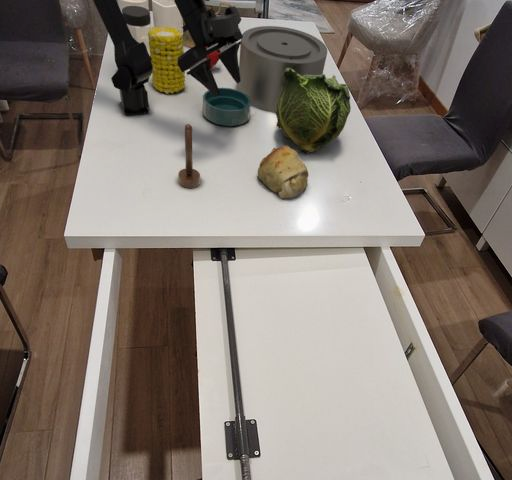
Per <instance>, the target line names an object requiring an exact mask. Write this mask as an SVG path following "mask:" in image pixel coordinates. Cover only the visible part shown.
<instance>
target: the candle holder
mask: <svg viewBox="0 0 512 480" xmlns="http://www.w3.org/2000/svg"><path fill="white" fill-rule="evenodd" d="M116 1H117V3H118V6H119V8H120V10H121V12H122V9H123V8H124V7H127V6H140V7H143V8H146V9H148V10H149V9H150V7H149V6H150V5H149V3H150V2H149V0H116ZM149 11H150V10H149Z"/></svg>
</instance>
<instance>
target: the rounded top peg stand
mask: <svg viewBox="0 0 512 480" xmlns="http://www.w3.org/2000/svg"><path fill="white" fill-rule="evenodd" d="M184 156H185V158H184V159H185V160H184V161H185V168H183V169H181V170H179V171H178V184H179V185H180V186H181V187H183V188H185V189H195V188H197V187H198V186H200V184H201V173H200V172H199V171H198V170H197V169H195V168H194V166H193V165H194V164H193V162H194V161H193V126H192V125H191V124H190V123H187V124H185V125H184Z"/></svg>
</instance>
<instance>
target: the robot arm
mask: <svg viewBox="0 0 512 480" xmlns="http://www.w3.org/2000/svg"><path fill="white" fill-rule="evenodd" d="M92 1H93V3H94V6H95V7H96V10H97V12H98V15H99V16H100V18H101V20H102V23H103V24H104V27H105V29H106V31H107V33H108V36H109V37H110V40H111V42H112V44H113V50H114V51H113V53H114V63H115V65H116V68H117V71H116V72H115V73H114V74H113V75H112V76H111V77H110V79H111V82H112V85H113V88H115V89H117V90H118V91H119V97H120V101H119V106H120V107H121V110H122V111H123V113H124V115H125V116H133V115H143V114H145V115H146V114H149V113H150V110H149V109H148V108H149V107H150V103H149V94H148V93H149V92H148V91H147V89H146V86H145V84H147V83H149V81H150V77H151V76H152V70H153V66H152V63H151V60H152V58H151V57H150V56H149V54H148V51H147V48H146V45H145V44H144V42H141V43H138V42H137V41H136V40H135V39H134V38H133V37H132V35H131V33H130V31H129V28H128V26H127V24H126V21H125V19H124V17H123V15H122V12H121V10H120V8H119V6H118V2H117V0H92ZM205 1H206V2H210V0H174V2H175V4H176V6H177V8H178V10H179V12H180V14H181V16H182V19H183V21H184V23H185V25H184V26H183V25H182V31H183V30H184V32H186V31H188V32H189V34H190V36H191V38H192V40H193V42H194V44H195V46H194V47H192V48H190V47H189V49H187V50H186V51H185V52H184V53H183V54H182V55H181V56H179V57H178V63H177V64H178V66H179V68H180V70H181V72H182V73H183V72H184V71H185V72H186V71H187V72H186V73H185V75H187V76H189V75H190V76H191V77H192V78H193V79H195V80H196V81H197V82H198V83H200V84H201V85H202V86H203V87H204V88H205V89H206V90H207V91H208V90H209V91H210V92H211V93H213V94H214V95H215V96H216V97H217V96H219V95H220V92H219V89H218V88H219V87H218V83H217V82H216V79H215V77H214V76H215V75H214V74H213V72H212V69H211V68H210V66H211V58H209V59H206V57H207V55H209V54H211V53H213V52H214V51H217V52H221V54H219V55H218V57H219V61H220V62H221V64H222V65H223V66H224V68H225V69H226V71H227V72H228V74H229V75H230V76H231V78H232V80H233V81H234V82H235V83H236V84H238V83H239V82H240V81H241V79H240V72H239V57H238V53H239V50H240V46H241V39H242V38H243V36H242V34H243V33H242V31H241V29H240V26H239V25H240V23H241V21H242V17H241V16H240V13H239V11H238V9H237V7H236V6H235V5H233V6H232V5H231V6H232V7H229V6H227V7H226V8H225V10H224V13H222V14H220V15H219V14H217V15H216V14H215V13H216V12H215V10H214V9H213V8H211V9H209V10H208V9H207V7H208V6H207V4H206V2H205ZM183 21H182V22H183ZM212 44H213V45H212ZM206 47H207V49H206Z"/></svg>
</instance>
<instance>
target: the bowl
mask: <svg viewBox="0 0 512 480" xmlns="http://www.w3.org/2000/svg"><path fill="white" fill-rule="evenodd" d="M218 89H219V92H220V95H219V96H217V97H216V96H215V95H214V94H213V93H211V92H210V91H209V90H208V89H207V90H206V91H205V92H204V93H203V95H202V115H203V116H204V118H205V119H207V120H208V121H210V122H212V123H213V124H216V125H218V126H224V127H236V126H240V125H243V124H245V123H247V122H248V121H249V120H250V118H251V117H250V116H251V109H252V108H251V107H252V105H251V100H250V98H249V97H248V96H247V95H246V94H245V93H243V92H241V91H238V90H237V89H235V88H230V87H218Z"/></svg>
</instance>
